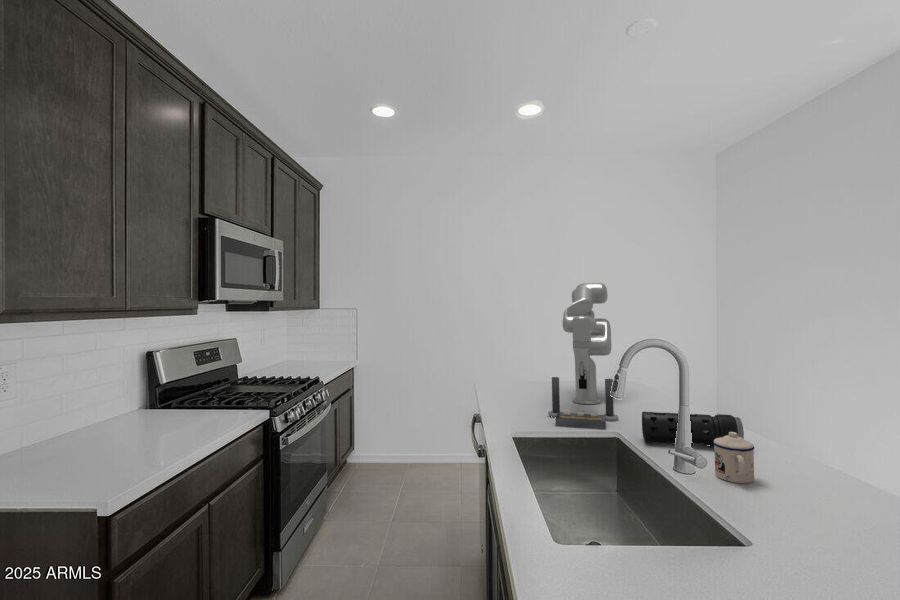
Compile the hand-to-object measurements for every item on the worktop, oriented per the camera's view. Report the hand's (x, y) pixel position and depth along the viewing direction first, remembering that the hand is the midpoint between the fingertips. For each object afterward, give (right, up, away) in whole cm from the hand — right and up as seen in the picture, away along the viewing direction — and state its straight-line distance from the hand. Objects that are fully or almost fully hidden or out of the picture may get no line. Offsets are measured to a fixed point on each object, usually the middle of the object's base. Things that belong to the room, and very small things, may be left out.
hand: (582, 388), depth 190 cm
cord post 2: (+8, -10, -11) cm, 17 cm away
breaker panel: (-6, -10, -18) cm, 21 cm away
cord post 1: (-12, -11, -4) cm, 17 cm away
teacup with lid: (+17, -9, -75) cm, 77 cm away
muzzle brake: (+21, -10, -45) cm, 51 cm away
